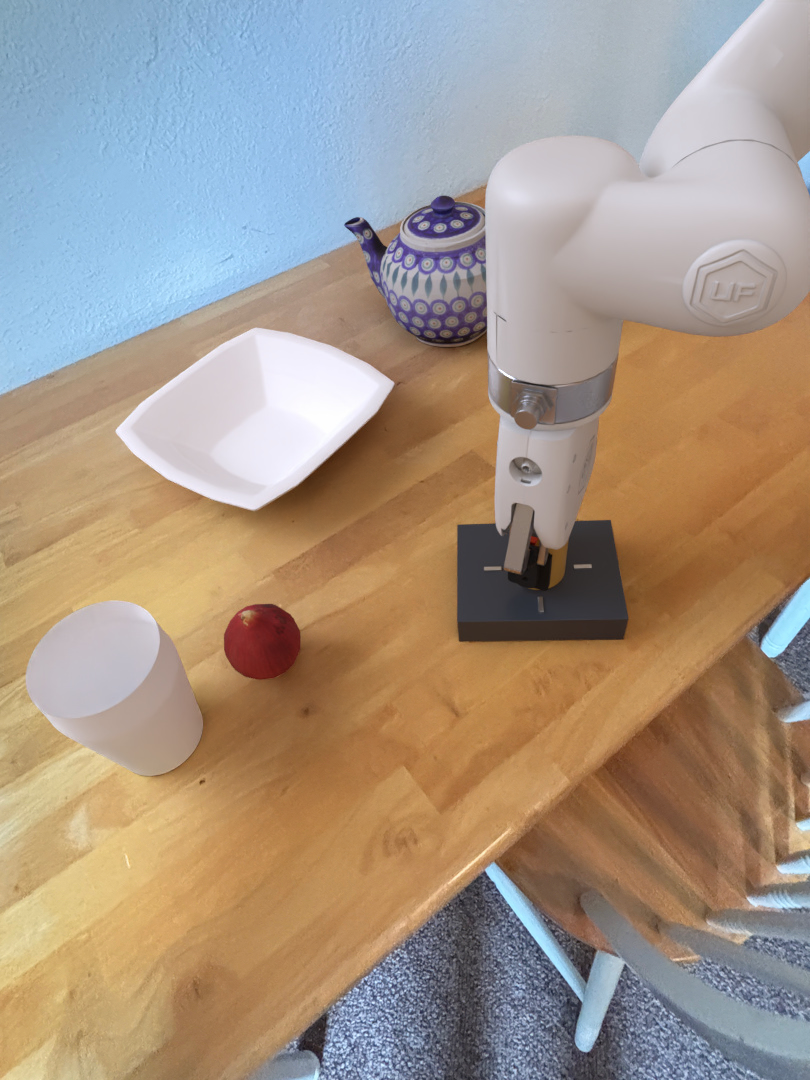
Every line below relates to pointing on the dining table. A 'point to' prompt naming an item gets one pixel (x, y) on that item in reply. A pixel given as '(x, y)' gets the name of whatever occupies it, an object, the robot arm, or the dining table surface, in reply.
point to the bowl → (255, 416)
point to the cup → (117, 687)
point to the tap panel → (535, 615)
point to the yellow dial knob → (554, 562)
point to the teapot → (432, 271)
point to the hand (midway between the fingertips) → (538, 556)
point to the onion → (262, 641)
